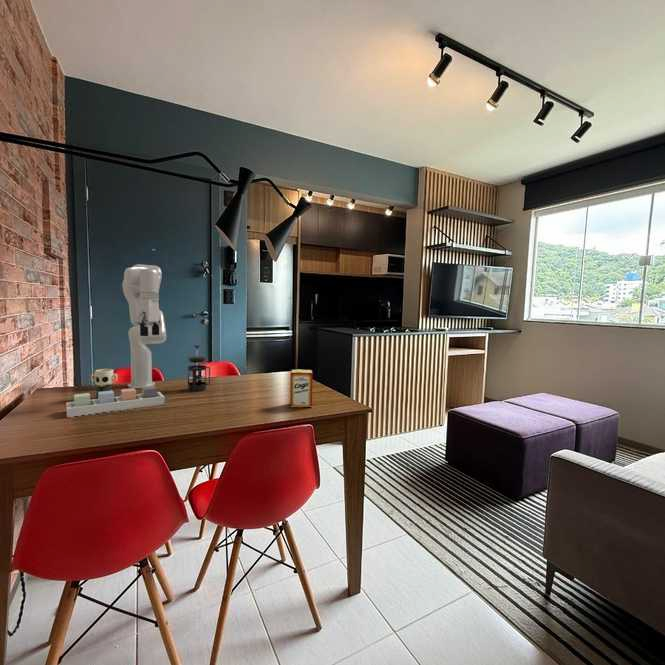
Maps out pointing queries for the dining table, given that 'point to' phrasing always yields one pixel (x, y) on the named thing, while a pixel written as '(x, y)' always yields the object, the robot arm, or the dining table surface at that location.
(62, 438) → the dining table surface
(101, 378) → the character mug
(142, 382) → the robot arm
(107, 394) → the key blue
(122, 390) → the key terracotta
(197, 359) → the french press
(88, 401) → the key sage
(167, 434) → the dining table surface
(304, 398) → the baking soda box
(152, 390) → the key charcoal
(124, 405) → the keypad housing
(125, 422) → the dining table surface
